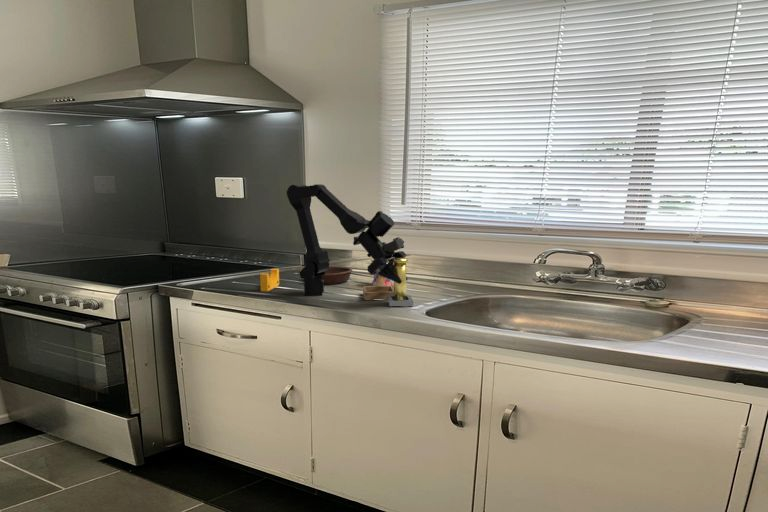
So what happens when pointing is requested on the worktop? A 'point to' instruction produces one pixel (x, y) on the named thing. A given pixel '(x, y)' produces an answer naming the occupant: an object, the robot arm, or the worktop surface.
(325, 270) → the robot arm
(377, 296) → the tray
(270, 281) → the pipe clamp
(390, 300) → the block
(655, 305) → the worktop surface
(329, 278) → the dish
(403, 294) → the pin
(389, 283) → the mug
